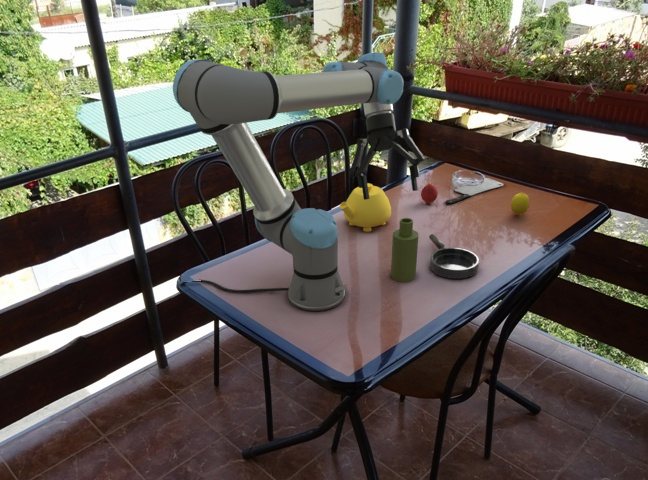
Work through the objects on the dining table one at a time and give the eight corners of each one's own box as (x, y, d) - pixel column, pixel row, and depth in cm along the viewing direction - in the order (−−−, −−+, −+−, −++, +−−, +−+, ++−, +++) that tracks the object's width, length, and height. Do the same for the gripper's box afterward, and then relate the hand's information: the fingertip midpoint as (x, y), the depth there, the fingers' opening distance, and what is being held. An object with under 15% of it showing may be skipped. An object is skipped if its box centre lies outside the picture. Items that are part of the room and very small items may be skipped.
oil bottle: (395, 283, 154) (398, 227, 145) (387, 271, 160) (389, 217, 150) (419, 279, 155) (423, 224, 146) (410, 268, 160) (413, 213, 151)
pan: (440, 283, 153) (441, 272, 151) (422, 260, 164) (423, 251, 162) (485, 276, 154) (487, 266, 153) (464, 254, 165) (466, 245, 164)
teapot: (357, 242, 176) (358, 202, 168) (324, 227, 186) (323, 189, 179) (400, 223, 186) (402, 184, 178) (366, 210, 196) (367, 172, 189)
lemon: (528, 213, 186) (532, 190, 182) (524, 219, 182) (529, 197, 178) (511, 210, 189) (515, 188, 185) (507, 216, 185) (511, 194, 181)
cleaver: (430, 197, 202) (451, 205, 195) (430, 195, 202) (451, 204, 195) (484, 178, 215) (506, 185, 208) (485, 176, 215) (506, 183, 207)
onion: (438, 206, 195) (440, 184, 191) (422, 207, 196) (423, 185, 191) (435, 200, 200) (436, 178, 196) (418, 200, 200) (420, 179, 196)
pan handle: (441, 253, 164) (442, 248, 163) (428, 238, 172) (428, 233, 171) (447, 252, 164) (447, 247, 163) (433, 238, 172) (434, 232, 171)
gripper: (429, 105, 146) (439, 186, 149) (341, 127, 158) (352, 202, 160) (422, 101, 139) (433, 186, 142) (331, 125, 151) (343, 203, 154)
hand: (390, 195), depth 151 cm, fingers open, 13 cm apart
